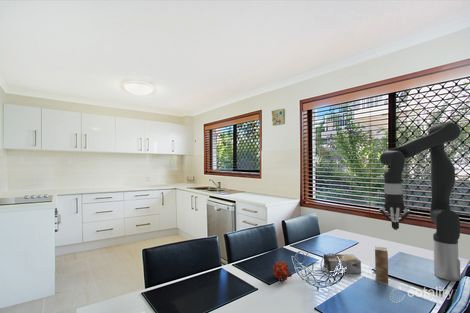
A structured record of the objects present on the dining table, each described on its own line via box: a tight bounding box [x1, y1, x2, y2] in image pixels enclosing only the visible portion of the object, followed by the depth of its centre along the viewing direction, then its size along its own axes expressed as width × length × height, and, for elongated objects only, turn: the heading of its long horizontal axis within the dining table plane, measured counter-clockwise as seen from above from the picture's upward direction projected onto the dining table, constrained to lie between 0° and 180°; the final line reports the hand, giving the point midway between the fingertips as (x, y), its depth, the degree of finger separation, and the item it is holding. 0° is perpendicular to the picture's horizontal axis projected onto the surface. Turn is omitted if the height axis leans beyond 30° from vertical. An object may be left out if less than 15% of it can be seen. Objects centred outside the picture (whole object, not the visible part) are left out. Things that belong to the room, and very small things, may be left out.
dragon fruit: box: [272, 260, 293, 282], centre depth 120 cm, size 8×8×12 cm
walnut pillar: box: [374, 246, 389, 284], centre depth 117 cm, size 5×5×15 cm
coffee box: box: [323, 253, 362, 274], centre depth 129 cm, size 9×6×16 cm
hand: (395, 229), depth 116 cm, fingers closed
